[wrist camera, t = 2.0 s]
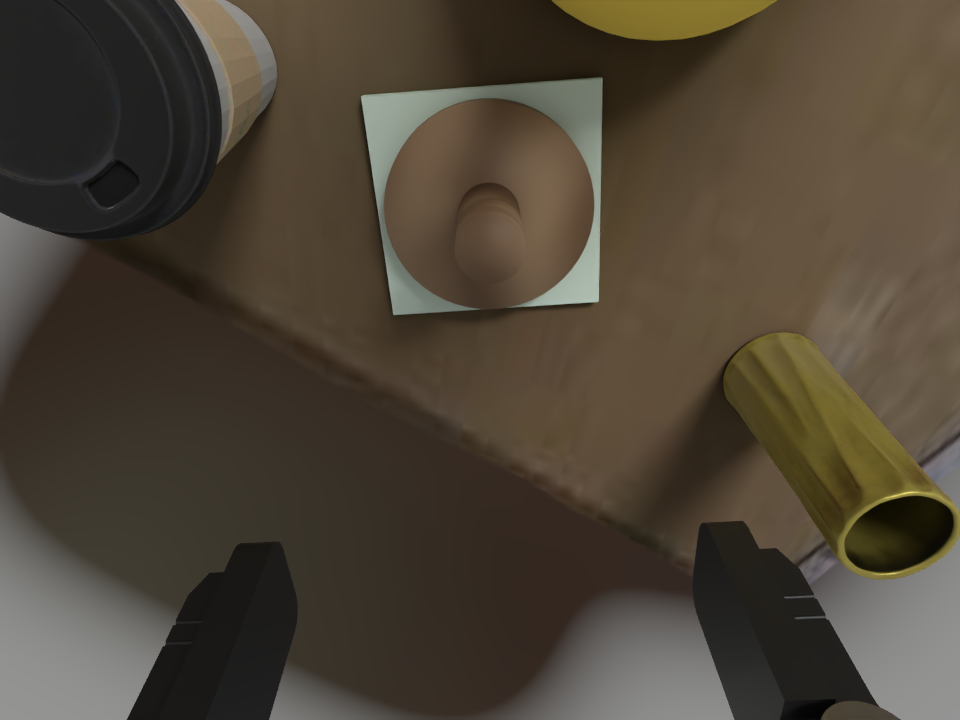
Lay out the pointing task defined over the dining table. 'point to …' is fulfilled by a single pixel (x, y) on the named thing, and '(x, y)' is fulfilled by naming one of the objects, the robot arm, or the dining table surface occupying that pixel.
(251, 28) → the coffee cup
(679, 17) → the teapot
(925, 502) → the vase
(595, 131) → the mat
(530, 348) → the dining table surface
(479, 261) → the lid
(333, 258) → the dining table surface
